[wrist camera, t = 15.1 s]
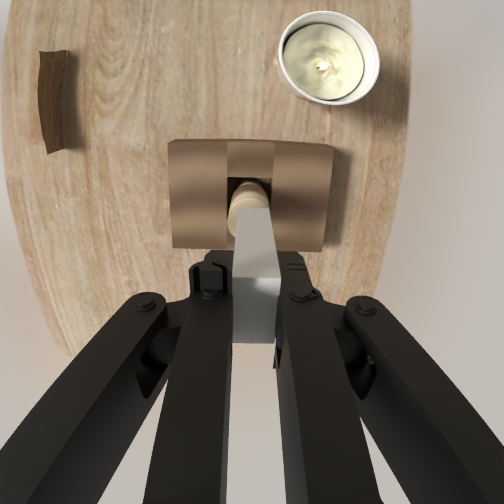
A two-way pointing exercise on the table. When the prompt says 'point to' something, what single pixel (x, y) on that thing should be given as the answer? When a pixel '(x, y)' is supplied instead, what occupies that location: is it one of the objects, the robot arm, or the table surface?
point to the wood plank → (50, 97)
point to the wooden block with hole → (256, 166)
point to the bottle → (246, 200)
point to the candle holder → (327, 58)
